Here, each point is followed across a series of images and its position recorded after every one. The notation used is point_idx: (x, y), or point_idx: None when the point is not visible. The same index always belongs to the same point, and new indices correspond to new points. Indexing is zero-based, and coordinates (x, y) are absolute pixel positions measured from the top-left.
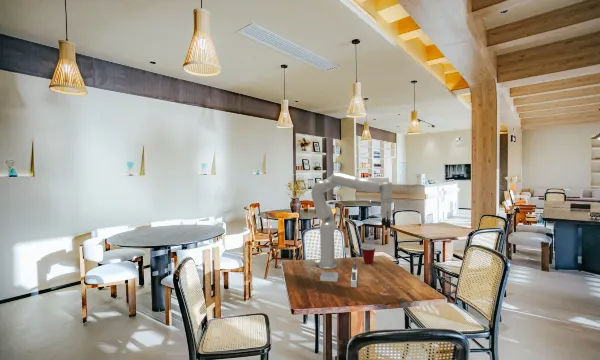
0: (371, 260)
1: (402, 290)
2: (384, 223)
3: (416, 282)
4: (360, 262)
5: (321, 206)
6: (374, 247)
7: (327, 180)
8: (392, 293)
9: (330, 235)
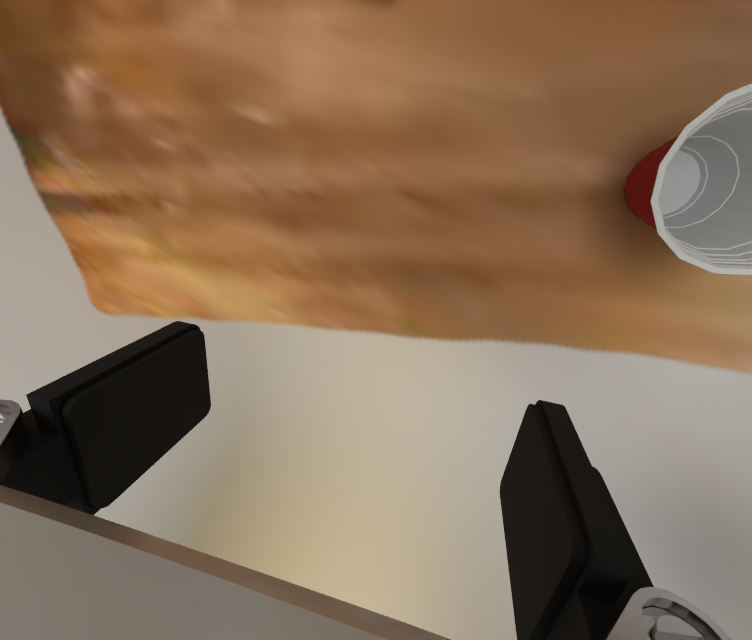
0: (632, 199)
1: (132, 196)
2: (521, 487)
3: (236, 308)
4: None
5: None
6: (745, 263)
7: None
8: (89, 132)
9: None
